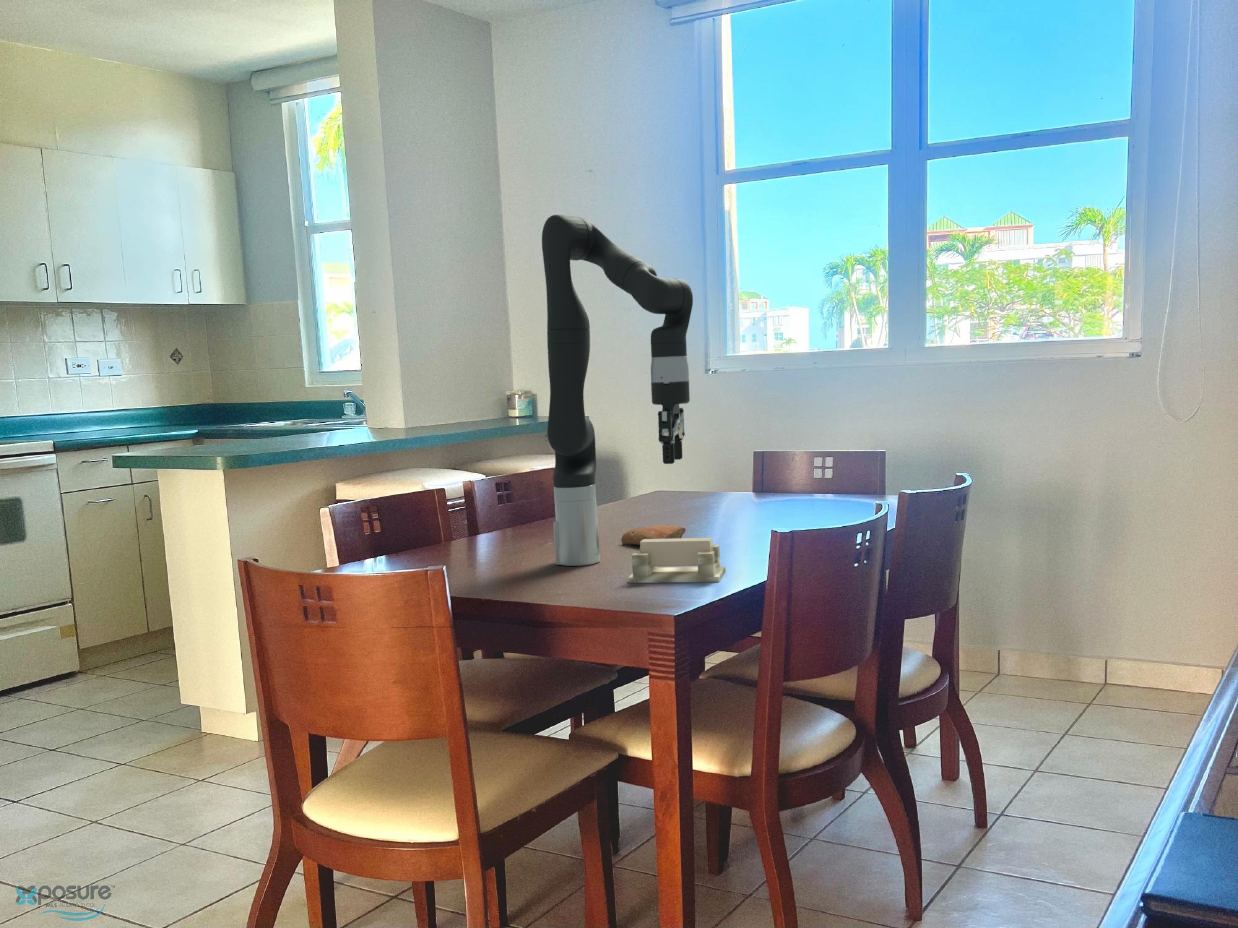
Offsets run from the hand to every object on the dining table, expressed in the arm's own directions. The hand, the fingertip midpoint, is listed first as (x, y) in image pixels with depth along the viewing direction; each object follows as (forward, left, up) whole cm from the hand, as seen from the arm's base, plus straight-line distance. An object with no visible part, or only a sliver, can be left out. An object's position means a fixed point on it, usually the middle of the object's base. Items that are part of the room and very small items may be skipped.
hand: (672, 461), depth 204 cm
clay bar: (0, -1, -21) cm, 21 cm away
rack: (0, -1, -23) cm, 23 cm away
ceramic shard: (-11, +39, -24) cm, 47 cm away
